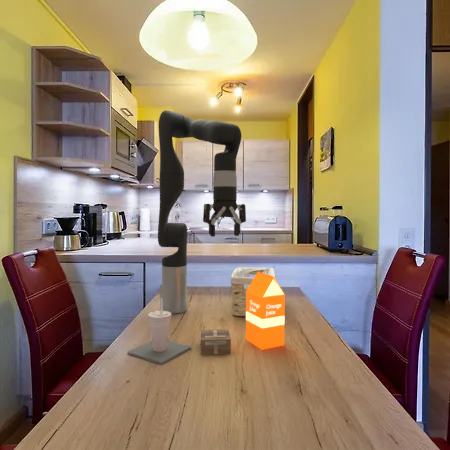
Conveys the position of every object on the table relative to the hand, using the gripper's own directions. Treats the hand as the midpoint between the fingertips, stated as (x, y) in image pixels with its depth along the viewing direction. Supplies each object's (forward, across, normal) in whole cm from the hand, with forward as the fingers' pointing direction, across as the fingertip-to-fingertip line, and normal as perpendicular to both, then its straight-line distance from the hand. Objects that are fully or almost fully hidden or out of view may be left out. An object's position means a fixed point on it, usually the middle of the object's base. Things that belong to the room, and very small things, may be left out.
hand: (224, 236), depth 118 cm
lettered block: (+30, -10, -16) cm, 35 cm away
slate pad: (+30, -25, -11) cm, 40 cm away
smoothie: (+29, -25, -11) cm, 40 cm away
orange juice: (+30, +5, -17) cm, 35 cm away
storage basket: (+30, +19, +14) cm, 39 cm away
